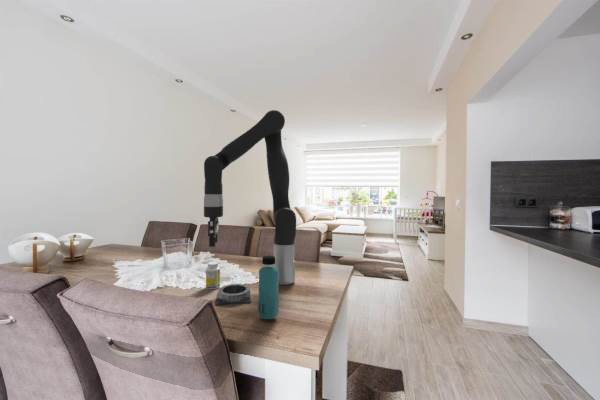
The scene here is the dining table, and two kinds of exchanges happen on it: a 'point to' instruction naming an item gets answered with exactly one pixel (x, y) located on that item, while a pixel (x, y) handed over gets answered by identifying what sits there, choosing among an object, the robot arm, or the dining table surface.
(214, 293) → the dining table surface
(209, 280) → the supplement bottle
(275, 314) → the beverage bottle
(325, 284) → the dining table surface
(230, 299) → the ring seat
